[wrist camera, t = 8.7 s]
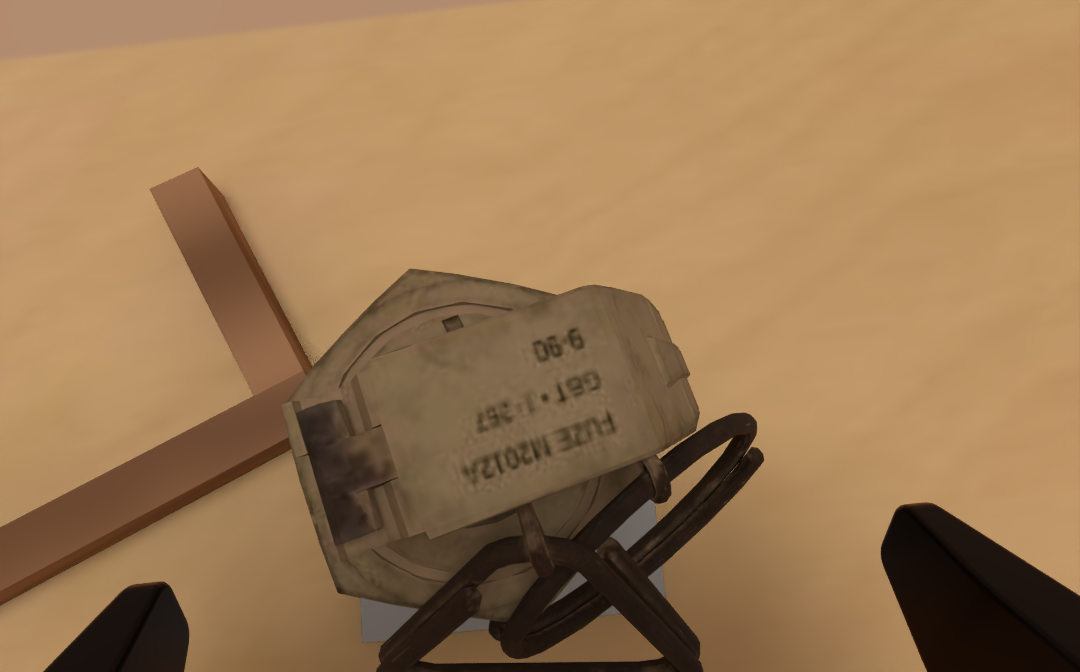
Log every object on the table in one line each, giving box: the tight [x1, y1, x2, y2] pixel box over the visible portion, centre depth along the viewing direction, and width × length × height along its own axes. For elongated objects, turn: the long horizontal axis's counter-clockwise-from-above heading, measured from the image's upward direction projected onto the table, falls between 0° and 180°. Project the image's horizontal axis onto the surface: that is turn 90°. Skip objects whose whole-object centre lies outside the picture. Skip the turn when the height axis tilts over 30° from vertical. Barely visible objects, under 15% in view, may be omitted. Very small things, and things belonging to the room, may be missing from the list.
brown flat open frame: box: [0, 167, 312, 605], centre depth 20 cm, size 8×13×2 cm, turn 120°
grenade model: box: [281, 269, 764, 672], centre depth 14 cm, size 6×7×15 cm
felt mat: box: [361, 500, 666, 643], centre depth 22 cm, size 9×9×1 cm
